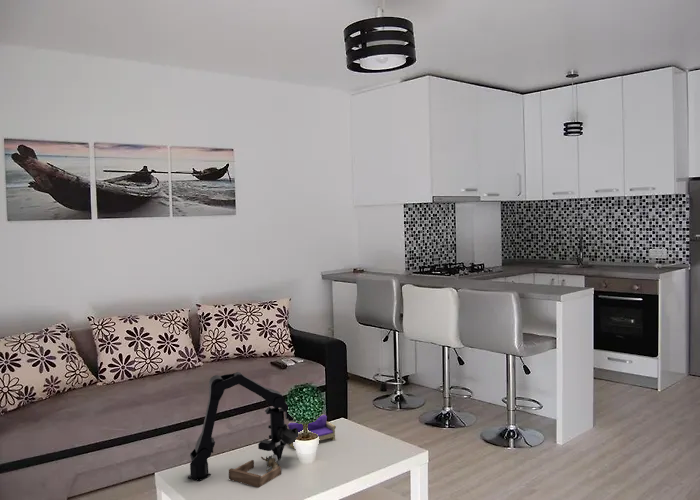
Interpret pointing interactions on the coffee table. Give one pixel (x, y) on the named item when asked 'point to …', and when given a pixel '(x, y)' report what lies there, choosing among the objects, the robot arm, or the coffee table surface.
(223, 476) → the coffee table surface
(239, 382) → the robot arm
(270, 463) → the eagle figurine
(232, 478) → the walnut bay
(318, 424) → the toy sofa
